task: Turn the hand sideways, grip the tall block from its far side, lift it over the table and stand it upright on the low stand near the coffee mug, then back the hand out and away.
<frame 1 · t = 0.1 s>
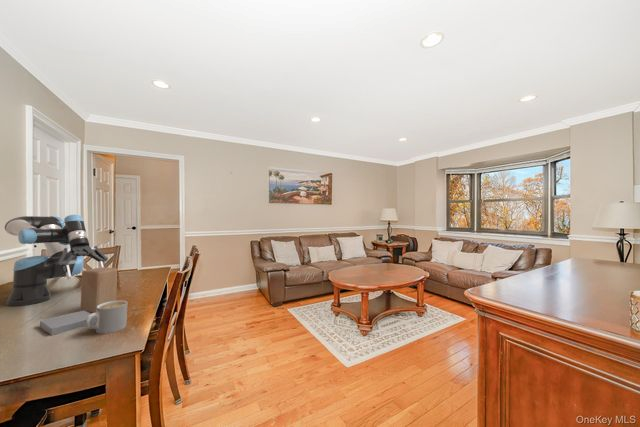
hand: (86, 275, 130), 15 cm above the table, tool tilted 35°, fingers open, 13 cm apart
stand: (69, 324, 107), on the table
coffee mug: (106, 330, 103), on the table
block: (98, 309, 124), on the table
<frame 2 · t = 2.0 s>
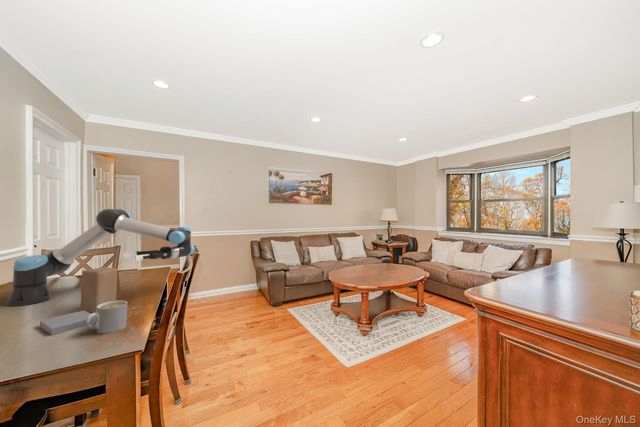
hand: (129, 256, 135), 25 cm above the table, tool horizontal, fingers open, 13 cm apart
nothing on the table moved.
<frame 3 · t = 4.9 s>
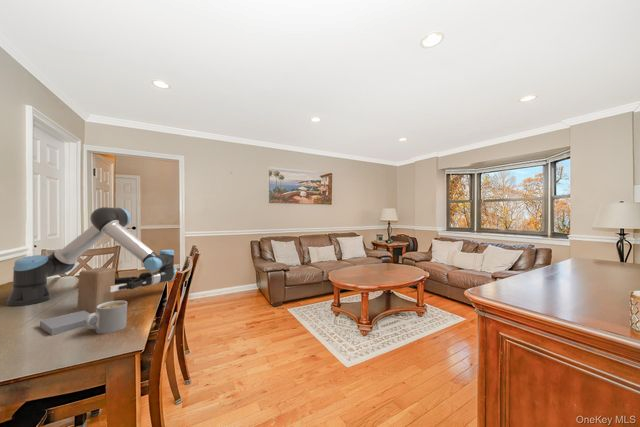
hand: (103, 287, 125), 11 cm above the table, tool horizontal, fingers open, 13 cm apart
block: (96, 310, 123), on the table, touching gripper
everything else where it was.
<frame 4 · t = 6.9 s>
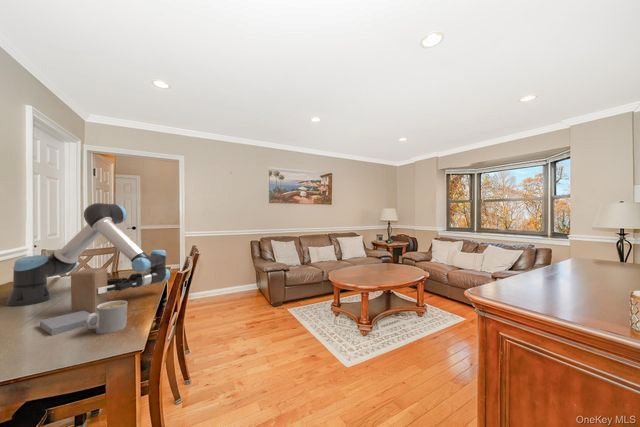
hand: (91, 288, 121), 11 cm above the table, tool horizontal, fingers closed on block, 13 cm apart
block: (90, 311, 121), on the table, touching gripper
everything else where it was.
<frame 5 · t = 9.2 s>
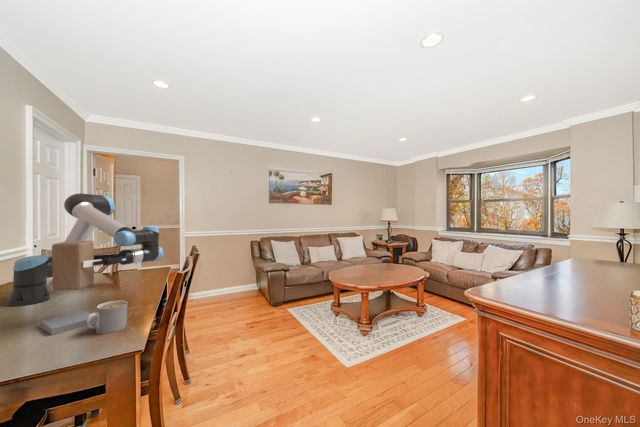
hand: (75, 262, 110), 26 cm above the table, tool horizontal, fingers closed on block, 13 cm apart
block: (74, 287, 110), point 15 cm above the table, touching gripper
everything else where it was.
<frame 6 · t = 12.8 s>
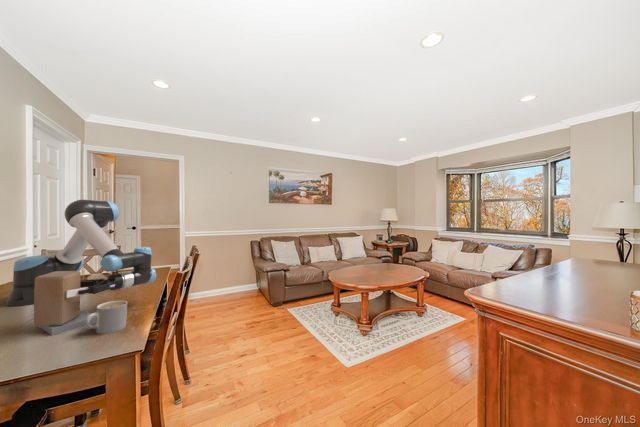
hand: (60, 291, 104), 15 cm above the table, tool horizontal, fingers closed on block, 13 cm apart
block: (57, 321, 104), point 2 cm above the table, touching gripper, stand
everything else where it was.
when the fingers open (15 cm above the table, at t = 12.9 s): block stays where it is, resting on stand.
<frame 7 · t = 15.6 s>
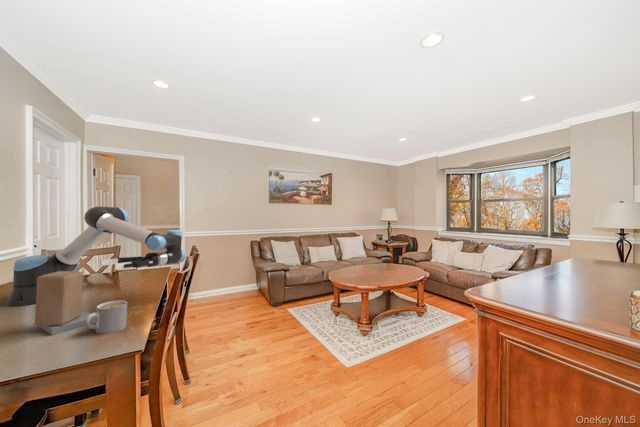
hand: (108, 264, 118), 24 cm above the table, tool horizontal, fingers open, 13 cm apart
block: (58, 321, 104), point 2 cm above the table, touching stand
everything else where it was.
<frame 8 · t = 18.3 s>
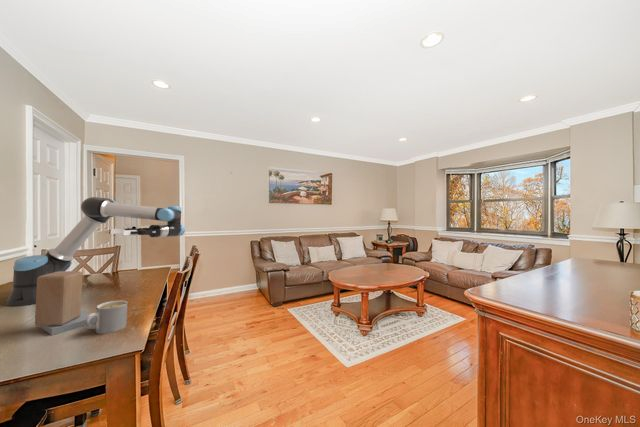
hand: (116, 232, 133), 38 cm above the table, tool horizontal, fingers open, 13 cm apart
nothing on the table moved.
at the end: block inside the target area on the stand (3.2 cm from its centre), point 2.3 cm above the stand's base; block tilted 0°; the gripper is holding nothing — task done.
